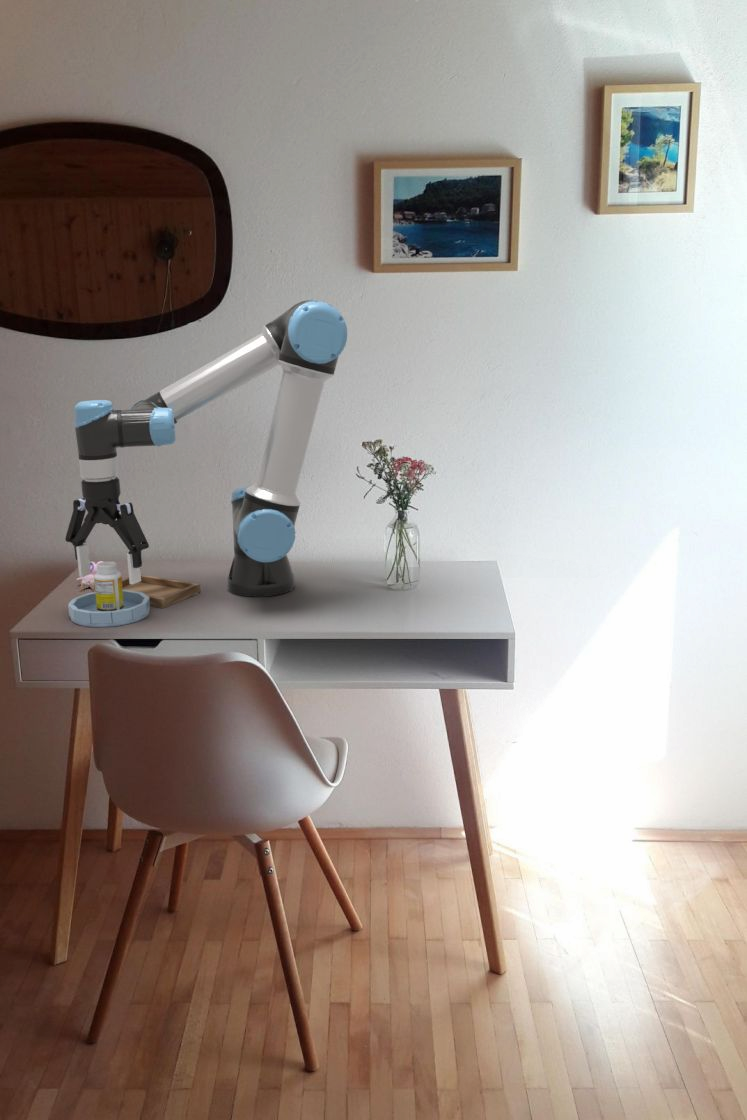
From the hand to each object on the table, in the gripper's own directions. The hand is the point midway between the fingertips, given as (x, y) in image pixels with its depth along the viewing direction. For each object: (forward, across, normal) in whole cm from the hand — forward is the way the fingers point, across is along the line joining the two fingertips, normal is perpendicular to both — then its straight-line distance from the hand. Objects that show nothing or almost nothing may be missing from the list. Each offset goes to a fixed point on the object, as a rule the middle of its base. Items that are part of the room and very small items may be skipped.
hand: (110, 579), depth 221 cm
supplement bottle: (+7, 0, 0) cm, 7 cm away
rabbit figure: (+8, +21, -17) cm, 28 cm away
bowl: (+8, 0, 0) cm, 8 cm away
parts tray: (+8, +2, -15) cm, 17 cm away
